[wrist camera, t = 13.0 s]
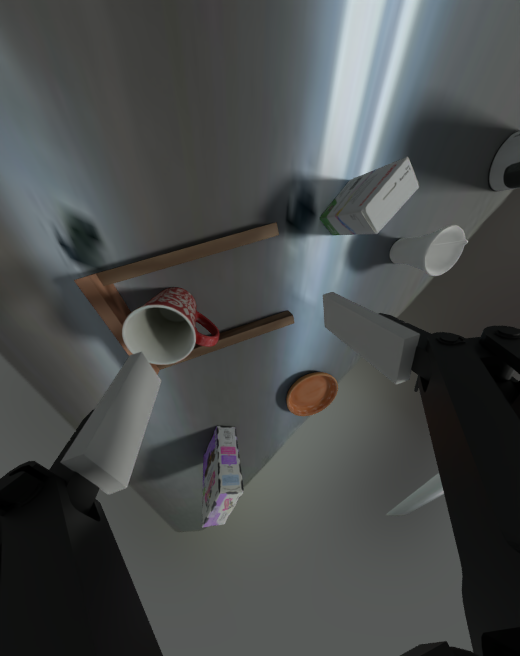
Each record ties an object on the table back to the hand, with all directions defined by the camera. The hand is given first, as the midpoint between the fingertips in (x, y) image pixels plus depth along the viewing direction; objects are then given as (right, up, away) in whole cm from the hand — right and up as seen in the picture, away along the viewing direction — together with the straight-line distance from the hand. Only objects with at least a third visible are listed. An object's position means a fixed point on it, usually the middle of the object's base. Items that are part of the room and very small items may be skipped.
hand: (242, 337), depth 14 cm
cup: (+34, +19, +30) cm, 49 cm away
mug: (-14, +5, +24) cm, 28 cm away
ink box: (+17, +24, +23) cm, 37 cm away
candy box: (-11, -33, +43) cm, 56 cm away
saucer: (+16, -18, +43) cm, 49 cm away
